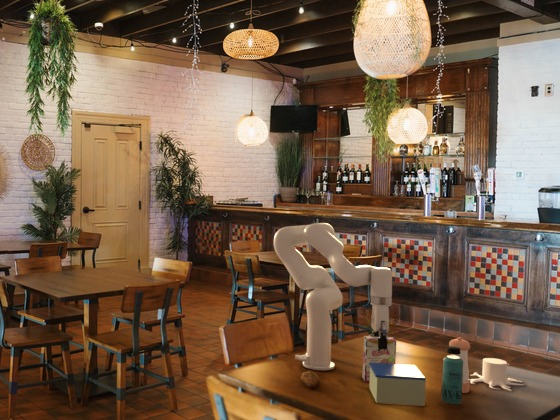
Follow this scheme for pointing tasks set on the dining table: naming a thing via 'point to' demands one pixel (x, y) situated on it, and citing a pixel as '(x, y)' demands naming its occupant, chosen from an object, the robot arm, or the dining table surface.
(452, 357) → the beverage bottle
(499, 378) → the tree stump
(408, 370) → the container lid
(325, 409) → the dining table surface
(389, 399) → the container
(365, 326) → the house plant
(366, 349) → the candy bar box
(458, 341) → the pepper shaker
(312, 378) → the croissant
